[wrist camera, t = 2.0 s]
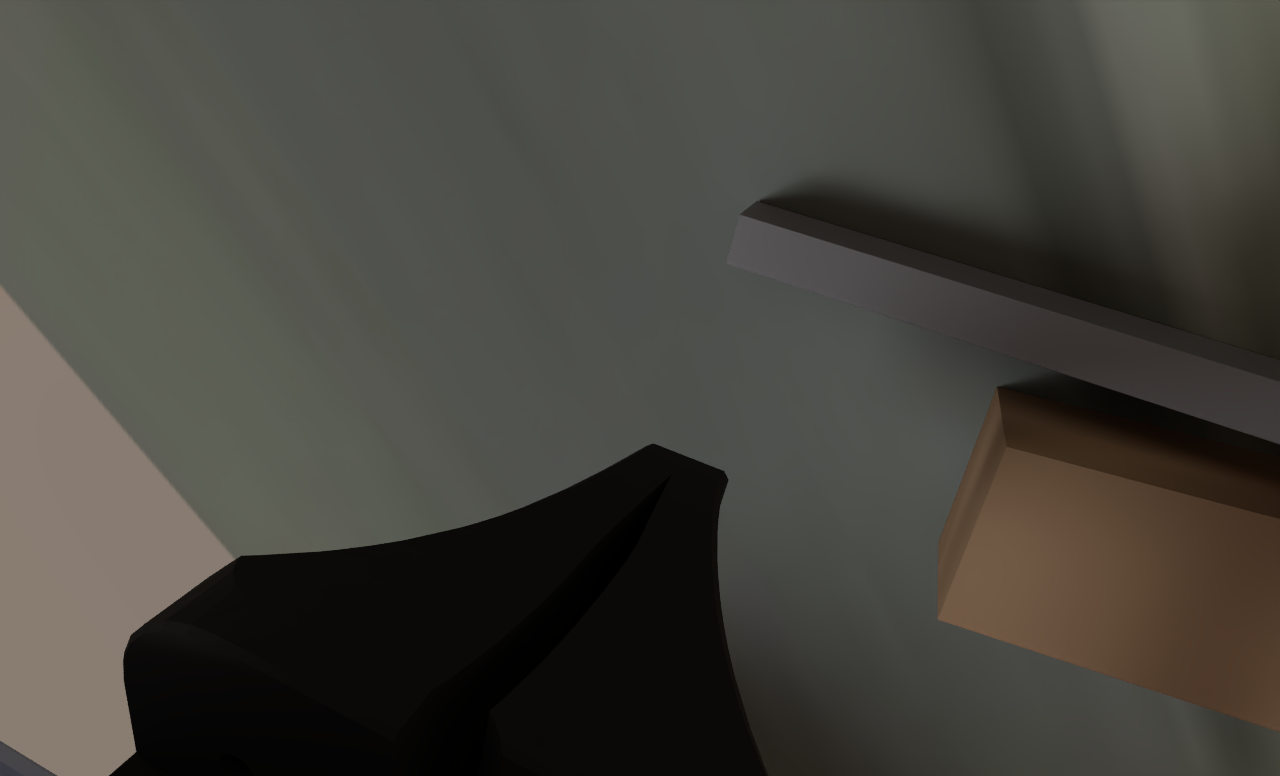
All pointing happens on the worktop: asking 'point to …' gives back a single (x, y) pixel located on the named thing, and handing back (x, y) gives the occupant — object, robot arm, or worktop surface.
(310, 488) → the worktop surface
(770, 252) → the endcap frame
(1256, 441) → the worktop surface
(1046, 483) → the brown rectangular block
